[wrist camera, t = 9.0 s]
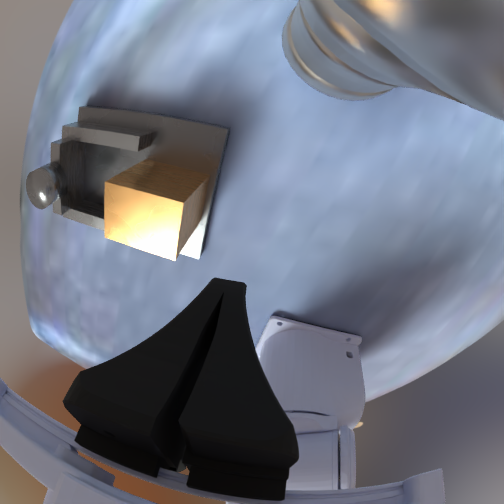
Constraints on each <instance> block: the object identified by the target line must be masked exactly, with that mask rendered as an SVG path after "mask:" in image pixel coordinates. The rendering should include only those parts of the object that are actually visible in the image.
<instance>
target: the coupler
mask: <svg viewBox="0 0 504 504" xmlns="http://www.w3.org/2000/svg"><path fill="white" fill-rule="evenodd" d="M229 132H230V128H226V127H222V126H218V125H214V124H209V123H205V122H200V121H195V120H190V119H185V118H180V117H174V116H168V115H162V114H156V113H149V112H142V111H135V110H127V109H118V108H108V107H96V106H82V107H79V114H78V122H75V123H71V124H67V125H64V126H63V127H62V139H60V140H57V141H54V142H52V143H51V163H48V164H46V165H44V166H42V167H40V168H38V169H36V170H34V171H32V172H30V173H29V175H28V176H27V180H26V190H27V194H28V197H29V199H30V201H31V202H32V204H33V205H34V206H35V207H37V208H39V209H44V208H46V207H47V206H49V205H50V204H52V203H53V212H54V213H57V214H59V215H63V217H65V218H68V219H71V220H74V221H77V222H80V223H83V224H86V225H88V226H91V227H94V228H97V229H100V230H103V231H105V228H104V195H105V182H106V181H107V180H109V179H111V178H112V177H114V176H116V175H118V174H119V173H121V172H123V171H125V170H126V169H128V168H130V167H132V166H134V165H136V164H138V163H139V162H141V161H143V160H145V159H147V160H152V161H156V162H160V163H165V164H169V165H173V166H177V167H181V168H185V169H189V170H193V171H197V172H201V173H205V174H208V175H210V178H209V183H208V187H207V192H206V196H205V201H204V206H203V211H202V216H201V221H200V223H199V225H198V226H197V228H196V229H195V231H194V232H193V234H192V235H191V237H190V238H189V240H188V241H187V243H186V245H185V246H184V248H183V249H182V251H181V252H180V254H183V255H186V256H190V257H193V258H196V259H200V257H201V255H202V251H203V246H204V241H205V236H206V231H207V226H208V221H209V217H210V212H211V207H212V203H213V198H214V194H215V189H216V185H217V181H218V176H219V172H220V168H221V164H222V160H223V156H224V151H225V147H226V143H227V140H228V136H229Z"/></svg>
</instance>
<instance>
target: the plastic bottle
mask: <svg viewBox="0 0 504 504" xmlns="http://www.w3.org/2000/svg"><path fill="white" fill-rule="evenodd" d="M282 47H283V50H284V53H285V57H286V59H287V60H288V62H289V64H290V66H291V67H292V69H293V70H294V71H295V73H296V74H297V75H298V76H299V77H300V78H301V79H302V80H303V81H304V82H305V83H307V84H308V85H309V86H311V87H313V88H314V89H316V90H317V91H319V92H321V93H323V94H326V95H328V96H330V97H334V98H338V99H341V100H350V101H360V100H368V99H372V98H375V97H378V96H380V95H382V94H385V93H387V92H389V91H391V90H392V89H393V88H397V87H406V88H416V89H423V90H426V91H429V92H432V93H435V94H438V95H441V96H444V97H447V98H449V99H452V100H455V101H457V102H460V103H462V104H465V105H467V106H469V107H471V108H473V109H476V110H478V111H481V112H483V113H486V114H488V115H490V116H493V117H495V118H497V119H500V120H503V121H504V0H299V1H298V3H297V5H296V7H295V8H294V9H293V10H292V11H291V13H290V15H289V16H288V18H287V20H286V22H285V24H284V27H283V32H282Z"/></svg>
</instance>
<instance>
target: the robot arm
mask: <svg viewBox="0 0 504 504" xmlns="http://www.w3.org/2000/svg"><path fill="white" fill-rule="evenodd" d="M246 287H247V285H246V284H245V283H243V282H237V281H231V280H225V279H220V278H213V279H212V280H211V281H210V282H209V283H208V285H207V286H206V287H205V288H204V289H203V290H202V291H201V293H200V294H199V295H198V296H197V297H196V298H195V299H194V300H193V301H192V302H191V303H190V304H189V305H188V306H187V307H186V308H185V309H184V310H183V311H182V312H180V313H179V314H178V315H177V316H176V317H175V318H174V319H173V320H171V321H170V322H169V323H168V324H167V325H165V326H164V327H163V328H162V329H160V330H159V331H158V332H156V333H155V334H153V335H152V336H151V337H149V338H148V339H146V340H145V341H143V342H141V343H140V344H138V345H137V346H135V347H133V348H132V349H130V350H128V351H126V352H124V353H122V354H120V355H118V356H117V357H115V358H113V359H111V360H108V361H106V362H104V363H102V364H99V365H96V366H94V367H91V368H89V369H86V370H83V371H81V372H80V373H79V374H78V376H77V377H76V378H75V380H74V381H73V383H72V385H71V387H70V388H69V390H68V392H67V394H66V396H65V398H64V400H63V403H64V406H65V408H66V409H67V410H68V411H69V412H70V413H71V414H72V415H73V417H75V418H76V420H77V421H78V422H80V424H81V426H80V429H79V431H78V433H77V432H75V431H73V430H71V429H70V428H68V427H66V426H64V425H63V424H61V423H59V422H57V421H56V420H54V419H53V418H51V417H49V416H48V415H46V414H45V413H43V412H42V411H40V410H39V409H37V408H35V407H34V406H33V405H31V404H30V403H28V402H27V401H26V400H24V399H23V398H21V397H20V396H19V395H17V394H16V393H15V392H13V391H12V390H11V389H10V388H8V387H7V385H6V384H5V382H4V381H3V380H2V379H1V378H0V445H1V447H2V448H3V449H4V450H5V451H6V452H7V453H8V454H9V455H10V456H11V457H12V458H13V459H15V460H16V461H17V462H18V463H19V464H20V465H21V466H22V467H23V468H24V469H25V470H26V471H28V472H29V473H30V474H31V475H32V476H33V477H35V478H36V479H37V480H38V481H39V482H41V483H42V484H43V485H44V486H46V487H47V488H48V491H47V494H46V496H45V499H44V502H43V504H157V503H154V502H151V501H148V500H146V499H143V498H140V497H137V496H135V495H132V494H130V493H127V492H125V491H122V490H120V489H117V488H115V487H114V486H113V482H114V479H115V476H114V475H113V474H111V473H109V472H107V471H105V470H103V469H102V468H100V467H98V466H97V465H96V464H94V463H92V462H90V461H88V460H86V459H85V458H83V457H81V456H80V455H78V452H77V450H78V451H80V452H81V453H83V454H85V455H87V456H89V457H91V458H93V459H95V460H97V461H99V462H101V463H104V464H106V465H108V466H110V467H112V468H115V469H117V470H119V471H122V472H124V473H127V474H129V475H132V476H134V477H137V478H139V479H142V480H145V481H148V482H151V483H154V484H157V485H160V486H163V487H167V488H170V489H173V490H177V491H180V492H184V493H188V494H192V495H197V496H201V497H205V498H210V499H216V500H221V501H226V504H445V493H444V481H443V472H442V469H441V468H440V469H436V470H433V471H429V472H425V473H421V474H418V475H415V476H412V477H410V478H408V479H406V480H404V481H401V482H396V483H390V484H384V485H378V486H371V487H363V488H355V482H356V454H355V437H354V431H353V430H352V429H353V428H354V427H355V426H356V425H357V424H358V422H359V420H360V419H361V416H362V413H363V410H364V405H365V386H364V379H363V372H362V366H361V360H360V354H359V348H358V346H359V345H360V343H361V342H362V338H361V337H360V336H357V335H352V334H348V333H343V332H339V331H335V330H330V329H326V328H322V327H318V326H314V325H309V324H305V323H301V322H297V321H294V320H290V319H286V318H282V317H278V316H271V317H270V318H269V320H268V322H267V325H266V327H265V329H264V331H263V333H262V335H261V337H260V339H259V342H258V344H257V346H256V348H255V346H254V343H253V340H252V336H251V332H250V327H249V323H248V317H247V310H246V298H245V295H246ZM279 322H281V323H279ZM348 338H349V339H348ZM339 434H340V450H339ZM186 466H187V468H188V469H189V471H190V472H189V476H188V475H184V474H180V473H178V472H181V471H183V470H185V469H186Z"/></svg>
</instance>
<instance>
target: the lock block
mask: <svg viewBox="0 0 504 504" xmlns="http://www.w3.org/2000/svg"><path fill="white" fill-rule="evenodd" d="M209 178H210V175H208V174H205V173H201V172H197V171H193V170H189V169H185V168H181V167H177V166H173V165H169V164H165V163H160V162H156V161H152V160H147V159H145V160H143V161H141V162H139V163H138V164H136V165H134V166H132V167H130V168H128V169H126V170H125V171H123V172H121V173H119V174H118V175H116V176H114V177H112V178H111V179H109V180H107V181H106V182H105V195H104V228H105V237H106V238H109V239H112V240H114V241H117V242H120V243H123V244H126V245H129V246H132V247H135V248H138V249H141V250H144V251H147V252H150V253H153V254H156V255H159V256H162V257H165V258H168V259H172V260H176V259H177V257H178V256H179V254H180V252H181V251H182V249H183V248H184V246H185V245H186V243H187V241H188V240H189V238H190V237H191V235H192V234H193V232H194V231H195V229H196V228H197V226H198V225H199V223H200V221H201V216H202V211H203V206H204V201H205V196H206V192H207V187H208V183H209Z"/></svg>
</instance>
